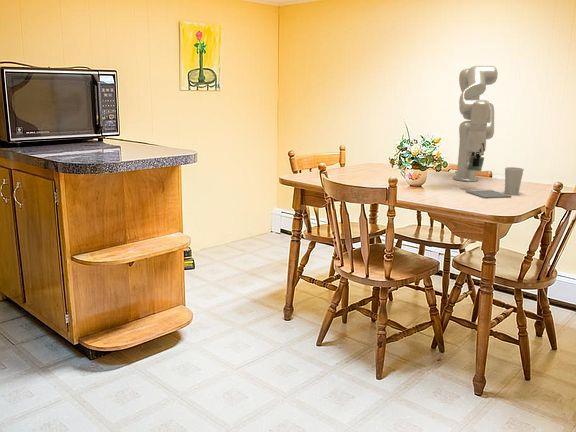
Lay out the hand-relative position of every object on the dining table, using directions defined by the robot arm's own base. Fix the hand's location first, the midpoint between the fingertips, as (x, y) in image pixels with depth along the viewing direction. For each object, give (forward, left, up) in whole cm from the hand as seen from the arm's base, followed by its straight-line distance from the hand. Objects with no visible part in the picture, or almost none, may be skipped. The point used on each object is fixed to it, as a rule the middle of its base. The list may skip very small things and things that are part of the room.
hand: (474, 165), depth 258 cm
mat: (+14, 0, -12) cm, 18 cm away
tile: (0, 0, -2) cm, 2 cm away
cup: (+13, +13, -12) cm, 22 cm away
